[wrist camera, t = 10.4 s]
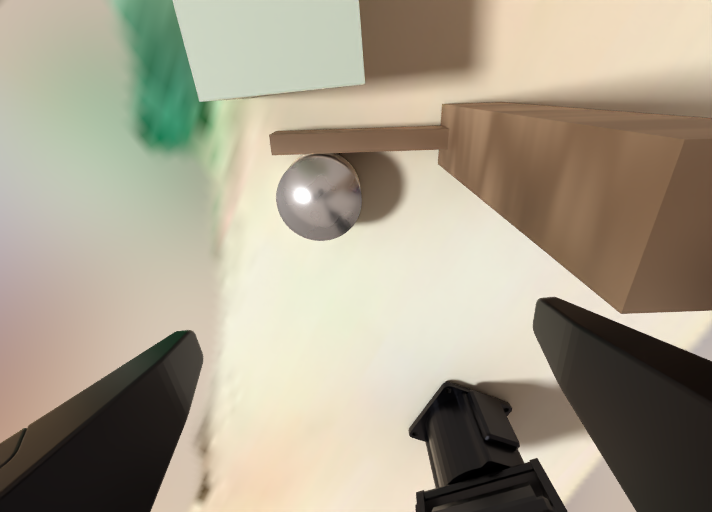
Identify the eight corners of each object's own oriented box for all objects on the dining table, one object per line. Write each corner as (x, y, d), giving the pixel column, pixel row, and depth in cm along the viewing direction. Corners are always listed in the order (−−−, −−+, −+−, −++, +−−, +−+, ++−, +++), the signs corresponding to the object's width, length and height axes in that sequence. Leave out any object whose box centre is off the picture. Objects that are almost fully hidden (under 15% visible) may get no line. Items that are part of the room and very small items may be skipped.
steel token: (335, 237, 22) (334, 254, 20) (270, 201, 21) (262, 214, 19) (374, 176, 21) (378, 187, 18) (307, 134, 19) (301, 139, 17)
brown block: (492, 162, 20) (786, 307, 7) (280, 169, 20) (141, 331, 7) (500, 102, 19) (894, 131, 5) (273, 109, 19) (77, 160, 5)
